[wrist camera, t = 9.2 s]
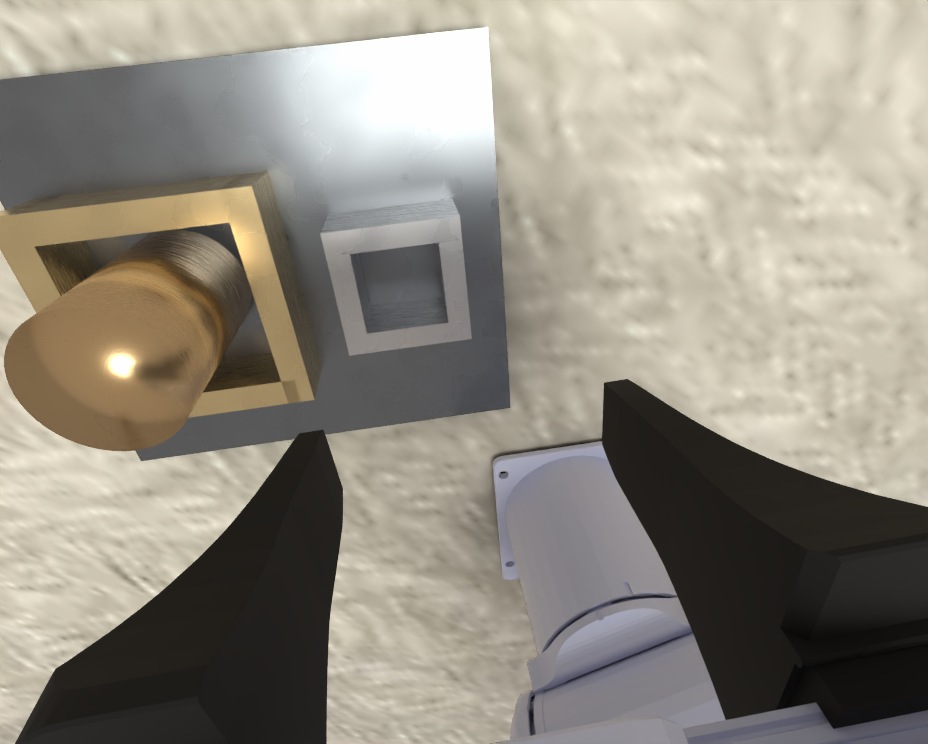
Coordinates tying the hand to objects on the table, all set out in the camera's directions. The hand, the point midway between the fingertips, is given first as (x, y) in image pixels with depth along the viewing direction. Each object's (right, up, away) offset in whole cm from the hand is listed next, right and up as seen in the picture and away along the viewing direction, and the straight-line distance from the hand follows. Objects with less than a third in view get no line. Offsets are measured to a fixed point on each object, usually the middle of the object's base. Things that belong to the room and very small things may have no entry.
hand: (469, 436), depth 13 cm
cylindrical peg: (-11, +5, +7) cm, 13 cm away
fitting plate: (-7, +6, +8) cm, 12 cm away
